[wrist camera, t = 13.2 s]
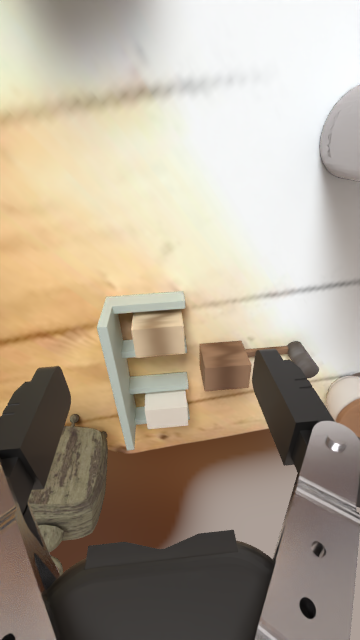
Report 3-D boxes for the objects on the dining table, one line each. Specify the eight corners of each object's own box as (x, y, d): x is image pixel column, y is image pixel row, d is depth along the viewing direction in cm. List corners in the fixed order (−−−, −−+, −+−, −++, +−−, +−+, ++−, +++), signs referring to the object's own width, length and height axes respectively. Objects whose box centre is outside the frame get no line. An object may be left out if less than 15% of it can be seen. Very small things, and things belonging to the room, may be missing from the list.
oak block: (180, 303, 42) (183, 325, 37) (181, 330, 45) (185, 353, 40) (133, 307, 42) (131, 330, 37) (138, 333, 45) (136, 358, 40)
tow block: (304, 336, 47) (322, 359, 42) (298, 357, 50) (315, 382, 45) (199, 343, 47) (205, 368, 41) (199, 365, 49) (204, 391, 44)
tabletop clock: (38, 435, 56) (-32, 612, 35) (34, 404, 51) (-51, 587, 30) (112, 437, 58) (89, 605, 37) (114, 408, 53) (88, 581, 32)
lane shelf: (183, 291, 41) (188, 320, 34) (187, 406, 55) (192, 443, 48) (106, 296, 41) (96, 327, 34) (130, 412, 54) (127, 450, 47)
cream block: (183, 380, 51) (187, 406, 46) (185, 398, 53) (188, 425, 48) (145, 384, 51) (144, 410, 46) (148, 402, 53) (147, 429, 48)
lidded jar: (324, 368, 52) (355, 408, 44) (379, 364, 52) (419, 403, 45) (311, 407, 58) (336, 449, 50) (360, 403, 58) (393, 444, 50)
